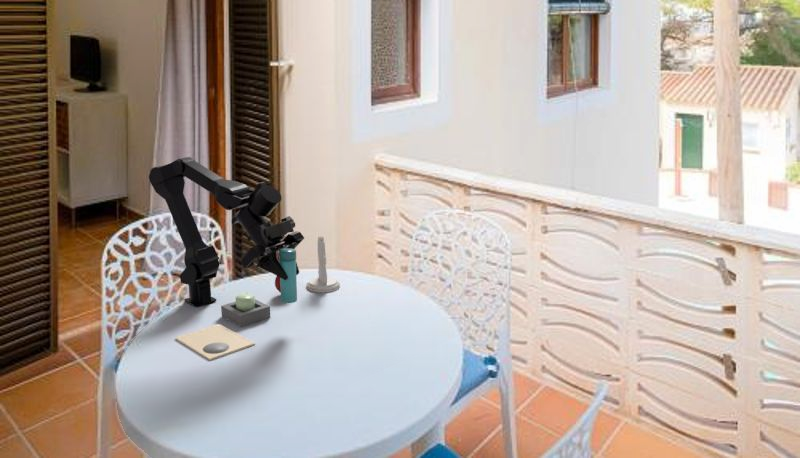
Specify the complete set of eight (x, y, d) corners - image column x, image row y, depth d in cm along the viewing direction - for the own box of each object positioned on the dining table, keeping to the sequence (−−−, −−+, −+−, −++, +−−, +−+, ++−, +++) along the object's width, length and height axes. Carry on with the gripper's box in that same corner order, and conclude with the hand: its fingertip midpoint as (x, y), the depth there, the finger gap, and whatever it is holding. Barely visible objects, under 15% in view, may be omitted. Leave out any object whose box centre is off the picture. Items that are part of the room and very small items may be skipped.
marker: (277, 299, 177) (275, 250, 174) (291, 295, 180) (290, 247, 176) (286, 304, 174) (284, 254, 171) (300, 300, 177) (299, 251, 173)
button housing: (221, 316, 184) (221, 305, 184) (251, 307, 190) (250, 297, 190) (240, 326, 178) (240, 315, 177) (270, 317, 184) (270, 306, 184)
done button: (232, 309, 184) (231, 297, 183) (248, 304, 187) (247, 292, 186) (242, 314, 181) (242, 301, 180) (258, 309, 184) (258, 297, 183)
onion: (291, 299, 197) (290, 272, 195) (272, 297, 198) (271, 270, 196) (298, 292, 202) (297, 265, 200) (279, 290, 203) (278, 264, 201)
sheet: (175, 339, 171) (175, 337, 171) (219, 325, 179) (219, 323, 179) (209, 360, 160) (209, 358, 160) (254, 344, 168) (254, 343, 168)
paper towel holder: (309, 293, 201) (308, 243, 197) (303, 282, 210) (302, 234, 206) (343, 290, 204) (342, 240, 200) (336, 279, 213) (335, 231, 209)
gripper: (247, 216, 165) (285, 269, 163) (297, 200, 180) (333, 249, 178) (224, 242, 171) (260, 294, 169) (274, 225, 186) (308, 272, 184)
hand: (292, 276), depth 175 cm, fingers closed on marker, 4 cm apart
